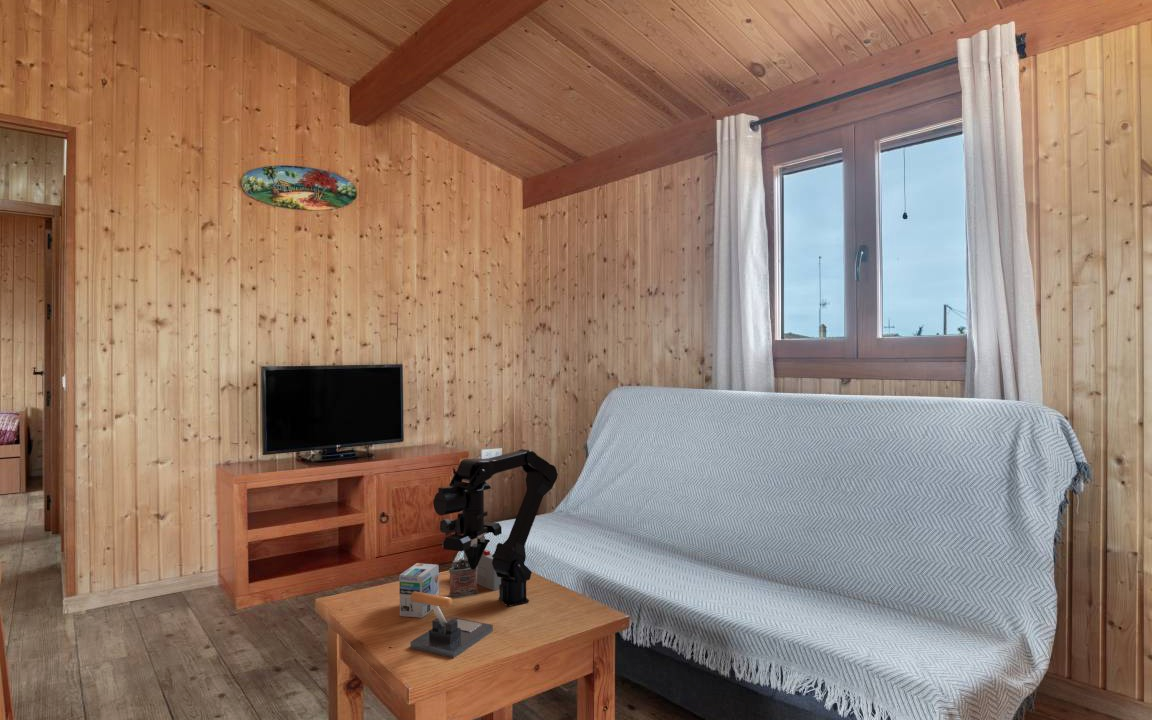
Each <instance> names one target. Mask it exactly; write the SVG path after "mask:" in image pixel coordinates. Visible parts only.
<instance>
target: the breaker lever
mask: <svg viewBox="0 0 1152 720" xmlns="http://www.w3.org/2000/svg"><path fill="white" fill-rule="evenodd" d="M411 601H413V602H418V603H424V604H429V605H431V607H432V611H433V612H434V614H435V616H436V618H438V620H439V622H440V624H441V625H442V626H446V623H447V621H446V620H447V619H446V618H445V616H444V614H443V612H442V610H441V608H444V609H450V608H451V607H452V606H453V598H452V597H450V596H441V595H439V596H438V595H433V594H427V593H421V592H416V591H414V592H412V594H411ZM440 607H441V608H440Z"/></svg>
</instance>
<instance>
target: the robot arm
mask: <svg viewBox="0 0 1152 720" xmlns="http://www.w3.org/2000/svg"><path fill="white" fill-rule="evenodd" d="M520 467H521V470H522V471H523V472H524V473H525V474H526V477H525V485H526V486H525V488H526V491H525V495H524V497H523V499H522V502H521V504H520V507H519V509H518V512H517V514H516V517H515V520H514V523H513V525H512V528H511V530H510V533H509V535H508V538H507V539H506V540H505V541H504V542H503V543H501V542H498V543H497V544H496V547H495V550H494V553H493V556H492V557H494V558H493V561H492V565H493V568H494V570H495V571H496V574H497V577H501V584H500V585H499V590H498V591H499V596H498V600H499V601H500V602H501V603H503V604H504V605H505V606H506V607H511V606H515V605H520V604H524V603H525V604H526V603H529V602H530V599H529V598H528V597H527V582H528V581H530V580H531V577H532V573H533V572H532V570H531V569H530V568H529V567H528V566H526V564H525V562H526V558H527V555H526V547H525V546H526V542H527V540H528V537H529V535H530V532H531V530H532V527H533V524H534V521H535V519H536V517H537V514H538V512H539V508H540V506H541V503H542V501H543V498H544V497H545V495H547V494H548V492H550V491H551V490H552V489H553V487H554V485H555V483H556V481H557V479H558V477H559V476H558V474H559V473H558V470H557V468H556V466H555V465H553V464H551V463H550V462H548V461H547V460H546V459H543V458H542V457H540V456H539V455H538V454H537V453H536V452H535V451H534V450H531V449H524V448H521V449H519V450H516V451H513V452H508V453H504V454H500V455H497V456H492V457H488V458H463V459H462V460H461V461H460V462H459V464H458V466H457V469H456V471H455V472H454V475H453V477H452V479H451V480H450V482H449V485H448V486H440V487H438V489H437V491H438V492H437V493H436V494H435V495H434V499H433V501H432V503H433V504H432V505H433V509H434V511H435V513H436V514H437V515H438V516H446V515H451V514H454V513H456V514H457V513H458V514H457V518H455V519H452V520H450V517H448V518H445V519H441V520H440V521H439V531H440V532H441V533H442V534H444V536H446V537H445V538H444V539H443V540H442V549H443V550H448V551H455V552H463V553H464V552H465V554H466V556H467V559H468V562H469V565H470V568H471V569H473V570H474V569H476V568H477V565H478V563H479V561H480V559H481V556H482V554H483V552H484V550H486V548H487V546H488V544H489V543H490V542H491V541H490V539H487V538H486V536H485V535H487V534H489V533H492V534H493V536H496V537H497V536H499V535H501V534H502V526H501V524H500V522H492V521H485V517H487V516H488V510H487V511H485V491H488V490H490V489H492V487H491V485H490V484H488V483H487V481H488V480H490V479H491V478H492V477H493V476H494V475H496V474H498V473H501V472H506V471H509V470H513V469H517V468H520ZM452 533H456V534H452ZM450 534H451V535H450ZM448 535H449V536H448Z"/></svg>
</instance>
